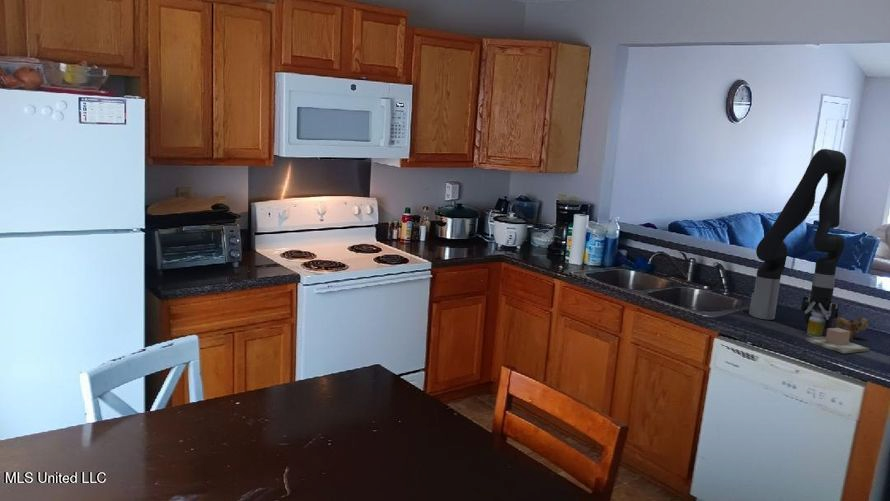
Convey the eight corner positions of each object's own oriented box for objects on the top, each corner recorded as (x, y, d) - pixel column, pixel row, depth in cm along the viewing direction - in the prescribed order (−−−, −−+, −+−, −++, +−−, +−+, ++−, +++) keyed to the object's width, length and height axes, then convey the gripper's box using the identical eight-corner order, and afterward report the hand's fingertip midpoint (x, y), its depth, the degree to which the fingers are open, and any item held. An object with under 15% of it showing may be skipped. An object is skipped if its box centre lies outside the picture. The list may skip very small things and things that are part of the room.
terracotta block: (825, 341, 267) (827, 328, 266) (836, 340, 270) (838, 327, 269) (837, 345, 263) (839, 332, 262) (848, 344, 265) (850, 331, 264)
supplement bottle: (815, 338, 275) (820, 314, 273) (803, 334, 279) (807, 310, 278) (824, 337, 277) (829, 313, 275) (812, 333, 282) (816, 309, 280)
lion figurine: (867, 340, 278) (872, 318, 276) (861, 342, 275) (865, 320, 273) (829, 329, 289) (833, 308, 288) (823, 331, 286) (827, 309, 284)
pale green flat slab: (804, 340, 271) (805, 337, 270) (830, 338, 276) (830, 335, 276) (843, 353, 256) (843, 350, 256) (868, 351, 262) (869, 348, 262)
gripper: (800, 281, 280) (794, 321, 282) (833, 289, 267) (827, 331, 270) (813, 281, 283) (807, 320, 286) (846, 288, 270) (840, 330, 273)
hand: (817, 325), depth 278 cm, fingers open, 8 cm apart
